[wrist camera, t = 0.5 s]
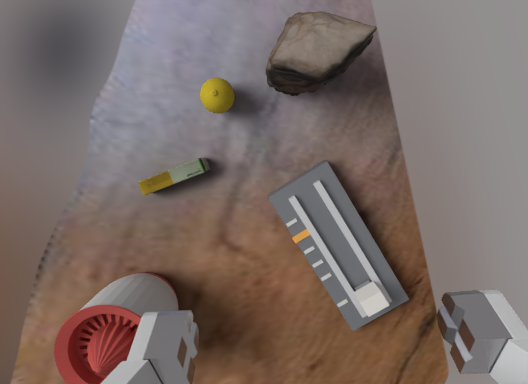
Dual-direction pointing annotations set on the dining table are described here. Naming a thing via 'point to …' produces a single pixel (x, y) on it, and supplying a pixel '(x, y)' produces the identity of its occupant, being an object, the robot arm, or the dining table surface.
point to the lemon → (217, 95)
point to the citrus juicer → (109, 326)
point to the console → (335, 241)
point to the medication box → (174, 176)
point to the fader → (370, 298)
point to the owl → (315, 51)
